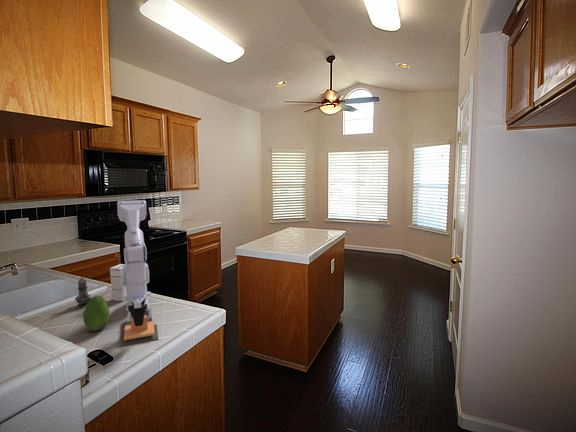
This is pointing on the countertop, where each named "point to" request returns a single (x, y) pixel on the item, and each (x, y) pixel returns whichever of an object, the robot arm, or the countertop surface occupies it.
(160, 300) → the countertop surface
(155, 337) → the mat
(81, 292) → the candlestick holder
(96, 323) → the avocado
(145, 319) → the lid
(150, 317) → the box
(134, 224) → the robot arm
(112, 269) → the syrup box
